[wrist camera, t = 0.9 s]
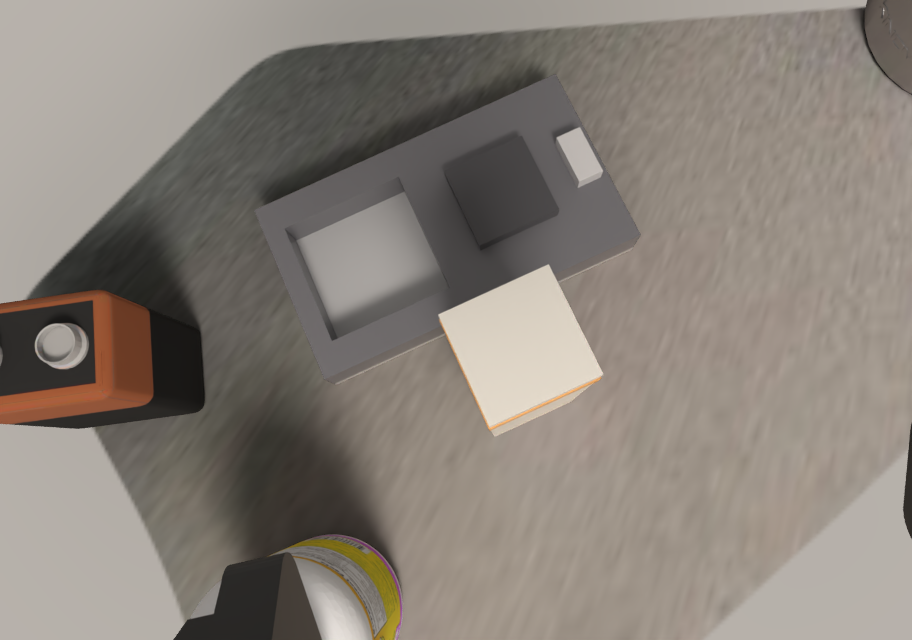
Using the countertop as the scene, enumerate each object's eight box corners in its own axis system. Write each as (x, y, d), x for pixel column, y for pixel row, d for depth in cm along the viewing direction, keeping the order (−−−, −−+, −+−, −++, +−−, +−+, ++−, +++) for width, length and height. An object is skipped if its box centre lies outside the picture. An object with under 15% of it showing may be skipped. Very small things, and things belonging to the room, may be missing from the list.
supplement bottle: (311, 712, 33) (192, 869, 21) (240, 583, 35) (87, 656, 22) (434, 629, 34) (391, 733, 21) (359, 504, 35) (275, 531, 22)
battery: (72, 344, 37) (-83, 305, 27) (202, 326, 37) (93, 279, 27) (75, 430, 36) (-84, 421, 27) (208, 412, 36) (97, 396, 26)
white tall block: (535, 326, 36) (549, 261, 24) (572, 402, 35) (605, 375, 23) (459, 361, 36) (435, 313, 24) (494, 438, 35) (488, 428, 23)
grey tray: (552, 98, 38) (556, 65, 35) (631, 249, 36) (643, 229, 33) (270, 226, 38) (248, 204, 34) (336, 384, 36) (320, 377, 33)
